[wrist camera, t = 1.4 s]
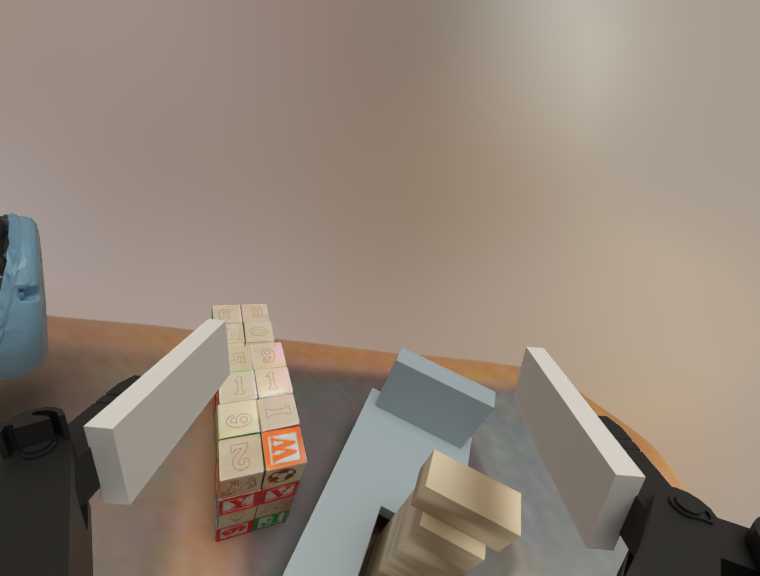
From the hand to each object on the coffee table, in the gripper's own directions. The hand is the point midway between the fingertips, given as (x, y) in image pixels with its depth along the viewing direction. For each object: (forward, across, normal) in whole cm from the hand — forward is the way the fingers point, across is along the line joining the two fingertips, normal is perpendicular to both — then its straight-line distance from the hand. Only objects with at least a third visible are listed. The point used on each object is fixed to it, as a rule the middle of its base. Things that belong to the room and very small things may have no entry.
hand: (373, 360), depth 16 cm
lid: (+10, +2, -21) cm, 23 cm away
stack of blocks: (+18, -14, -22) cm, 32 cm away
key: (+7, +2, -27) cm, 28 cm away
